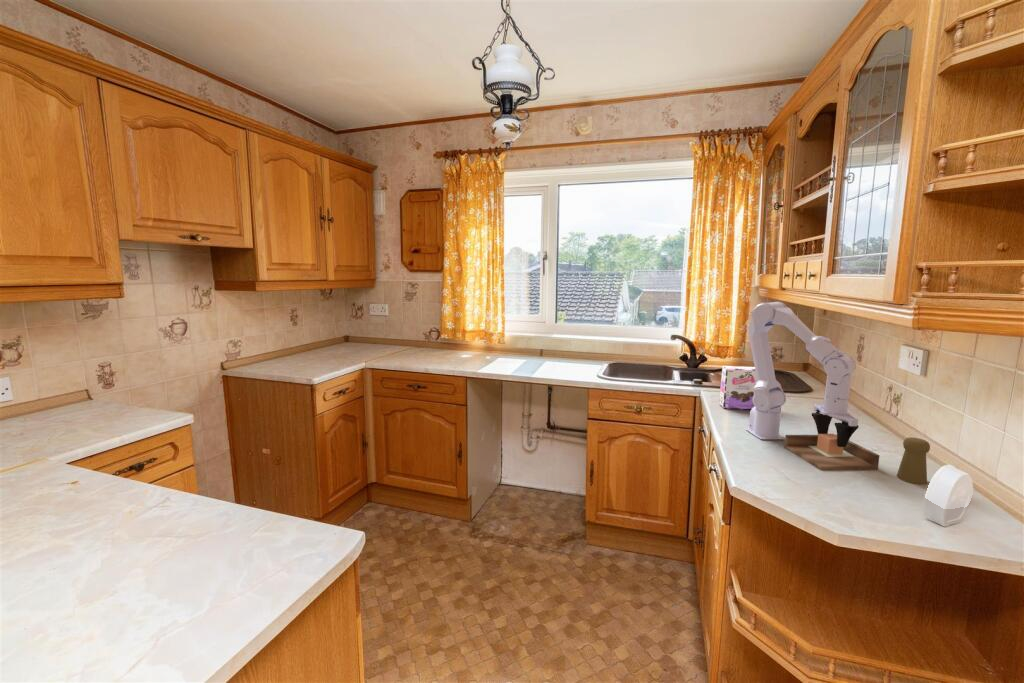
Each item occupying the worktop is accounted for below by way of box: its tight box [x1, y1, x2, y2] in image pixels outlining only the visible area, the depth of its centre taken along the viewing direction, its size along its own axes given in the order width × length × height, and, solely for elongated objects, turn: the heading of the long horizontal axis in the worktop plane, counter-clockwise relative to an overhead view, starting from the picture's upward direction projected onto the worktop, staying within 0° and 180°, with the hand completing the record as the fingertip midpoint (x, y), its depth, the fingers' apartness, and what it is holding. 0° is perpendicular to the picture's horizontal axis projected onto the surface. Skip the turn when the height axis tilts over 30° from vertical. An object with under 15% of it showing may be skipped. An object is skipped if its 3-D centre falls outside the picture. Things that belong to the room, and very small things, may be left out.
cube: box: [817, 433, 843, 454], centre depth 133 cm, size 4×4×4 cm
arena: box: [784, 434, 880, 471], centre depth 131 cm, size 16×16×4 cm
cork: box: [896, 436, 931, 485], centre depth 117 cm, size 6×6×11 cm
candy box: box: [718, 365, 757, 410], centre depth 179 cm, size 14×6×16 cm, turn 80°
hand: (831, 441), depth 133 cm, fingers open, 7 cm apart
